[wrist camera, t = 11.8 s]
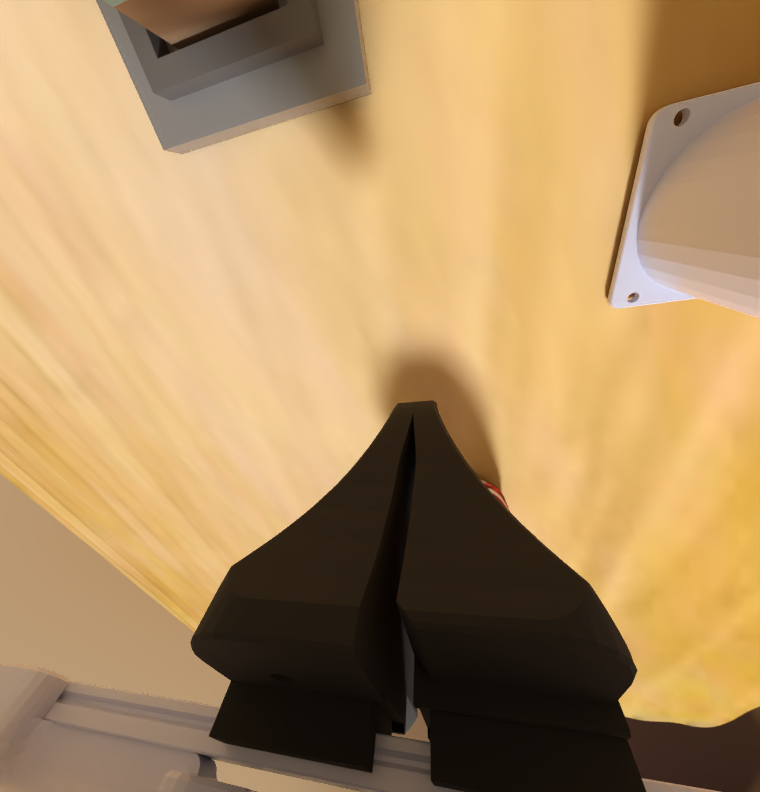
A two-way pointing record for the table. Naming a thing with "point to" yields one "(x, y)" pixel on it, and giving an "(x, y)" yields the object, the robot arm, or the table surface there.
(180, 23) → the block stack
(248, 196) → the table surface
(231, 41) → the socket board
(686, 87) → the table surface
